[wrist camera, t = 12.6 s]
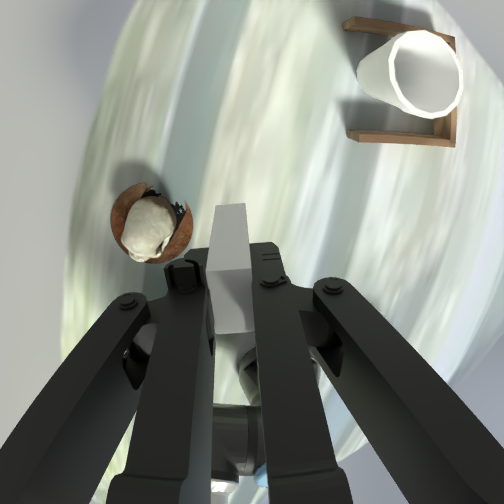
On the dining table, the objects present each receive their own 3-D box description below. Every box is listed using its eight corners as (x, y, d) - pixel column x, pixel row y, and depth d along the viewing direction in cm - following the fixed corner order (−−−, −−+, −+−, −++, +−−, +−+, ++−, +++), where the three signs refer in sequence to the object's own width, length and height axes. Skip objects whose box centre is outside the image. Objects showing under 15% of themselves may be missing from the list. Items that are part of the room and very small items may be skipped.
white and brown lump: (174, 281, 48) (118, 289, 39) (141, 236, 52) (88, 237, 43) (214, 217, 43) (156, 214, 35) (174, 175, 47) (118, 165, 38)
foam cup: (356, 115, 39) (401, 125, 27) (336, 50, 35) (376, 34, 23) (414, 101, 38) (470, 110, 26) (397, 40, 34) (451, 28, 22)
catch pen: (438, 141, 40) (455, 147, 36) (347, 137, 40) (359, 142, 36) (437, 39, 33) (454, 37, 29) (342, 23, 33) (354, 16, 29)
